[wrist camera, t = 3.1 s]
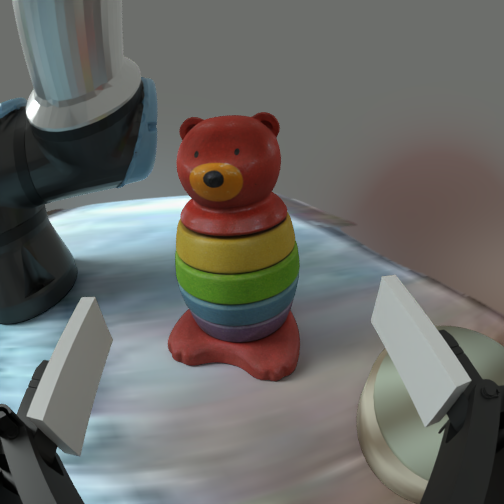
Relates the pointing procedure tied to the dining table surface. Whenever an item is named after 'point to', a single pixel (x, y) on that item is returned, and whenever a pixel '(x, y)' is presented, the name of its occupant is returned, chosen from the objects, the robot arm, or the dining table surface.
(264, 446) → the dining table surface
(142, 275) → the dining table surface
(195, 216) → the stacking bear
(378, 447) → the stand
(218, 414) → the dining table surface
